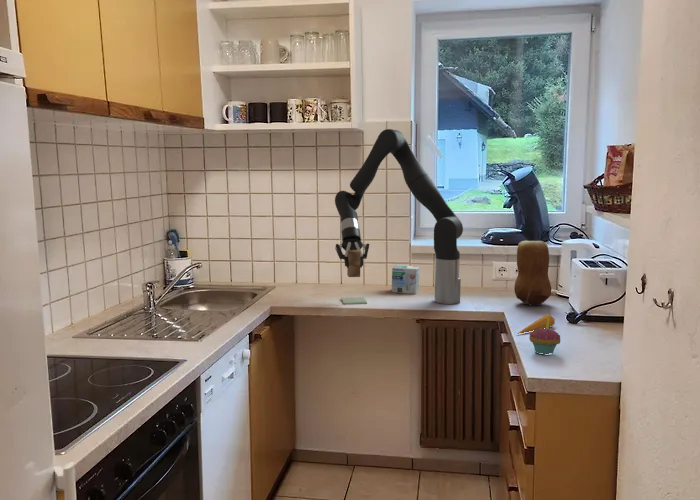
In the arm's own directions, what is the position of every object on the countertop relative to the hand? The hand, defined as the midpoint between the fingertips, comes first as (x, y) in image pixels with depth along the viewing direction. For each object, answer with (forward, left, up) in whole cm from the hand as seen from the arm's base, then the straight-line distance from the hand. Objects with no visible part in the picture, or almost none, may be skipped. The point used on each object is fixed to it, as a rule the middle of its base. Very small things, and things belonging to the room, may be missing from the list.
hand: (354, 266), depth 229 cm
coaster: (0, -2, -14) cm, 14 cm away
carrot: (-52, +46, -15) cm, 71 cm away
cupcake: (-46, +69, -14) cm, 84 cm away
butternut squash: (-67, +12, -14) cm, 70 cm away
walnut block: (0, -2, -4) cm, 5 cm away
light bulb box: (-24, -17, -15) cm, 33 cm away
